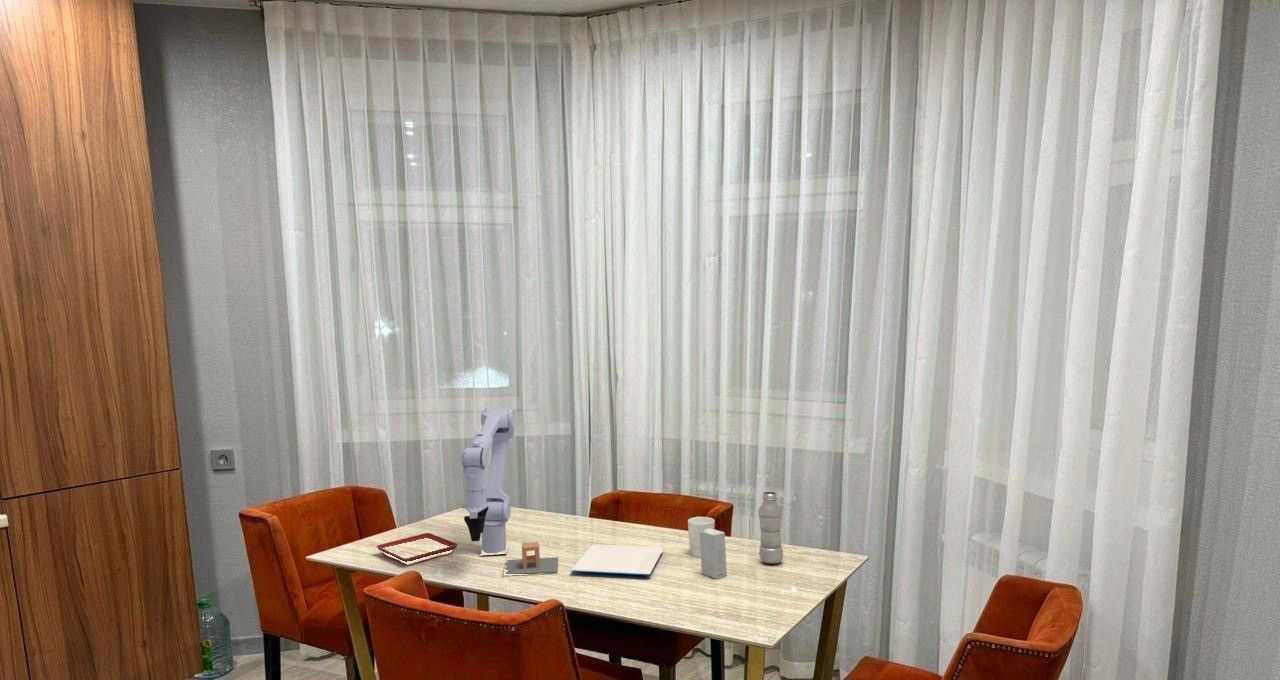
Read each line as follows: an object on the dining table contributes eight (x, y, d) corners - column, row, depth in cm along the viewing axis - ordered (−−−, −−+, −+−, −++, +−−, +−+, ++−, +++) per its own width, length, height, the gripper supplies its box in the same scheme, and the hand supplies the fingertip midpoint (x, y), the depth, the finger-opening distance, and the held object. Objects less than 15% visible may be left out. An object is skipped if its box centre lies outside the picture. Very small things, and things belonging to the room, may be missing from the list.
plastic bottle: (783, 567, 209) (782, 496, 208) (758, 566, 211) (757, 495, 210) (783, 559, 216) (782, 490, 215) (759, 558, 217) (758, 490, 216)
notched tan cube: (522, 563, 215) (521, 543, 215) (538, 562, 216) (537, 541, 216) (523, 569, 211) (522, 548, 211) (539, 567, 212) (539, 546, 212)
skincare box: (727, 576, 203) (726, 531, 203) (715, 580, 201) (714, 535, 200) (711, 570, 208) (710, 527, 208) (699, 574, 205) (698, 530, 205)
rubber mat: (506, 562, 219) (506, 560, 219) (558, 559, 220) (558, 557, 220) (502, 576, 207) (502, 574, 207) (557, 573, 208) (557, 571, 208)
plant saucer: (459, 554, 229) (459, 543, 228) (405, 569, 216) (404, 558, 215) (428, 542, 241) (428, 532, 241) (375, 556, 228) (375, 545, 228)
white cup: (693, 559, 217) (693, 525, 217) (685, 551, 225) (684, 518, 225) (719, 556, 220) (718, 522, 219) (709, 548, 227) (708, 515, 227)
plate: (649, 580, 202) (649, 573, 202) (570, 576, 206) (570, 569, 206) (664, 553, 224) (663, 546, 224) (591, 550, 228) (591, 543, 228)
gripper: (465, 484, 219) (466, 530, 220) (457, 496, 205) (459, 545, 205) (489, 483, 220) (490, 528, 220) (483, 495, 205) (485, 544, 206)
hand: (477, 536), depth 213 cm, fingers open, 7 cm apart
